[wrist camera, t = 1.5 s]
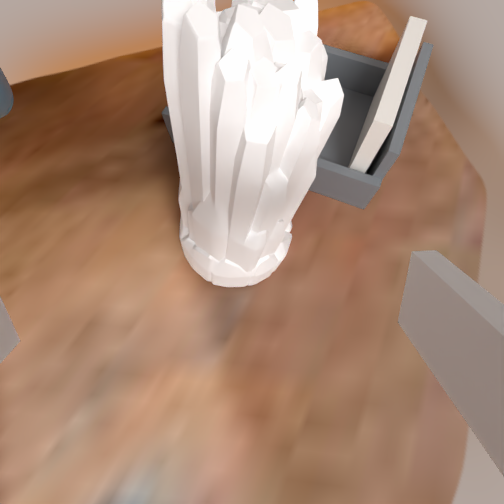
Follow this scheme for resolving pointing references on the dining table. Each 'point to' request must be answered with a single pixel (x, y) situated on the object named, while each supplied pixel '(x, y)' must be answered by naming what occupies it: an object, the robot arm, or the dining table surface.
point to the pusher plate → (388, 96)
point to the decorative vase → (244, 127)
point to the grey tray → (358, 125)
